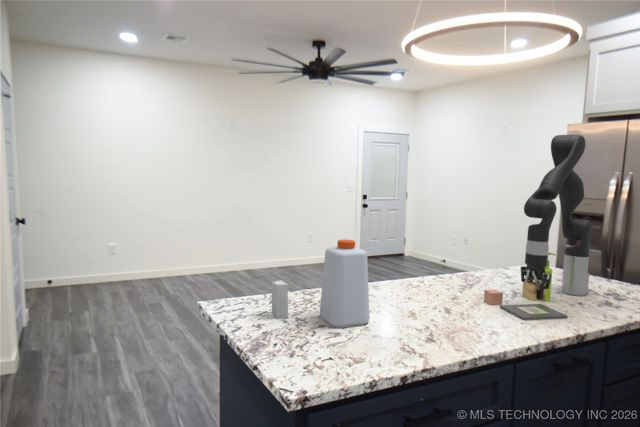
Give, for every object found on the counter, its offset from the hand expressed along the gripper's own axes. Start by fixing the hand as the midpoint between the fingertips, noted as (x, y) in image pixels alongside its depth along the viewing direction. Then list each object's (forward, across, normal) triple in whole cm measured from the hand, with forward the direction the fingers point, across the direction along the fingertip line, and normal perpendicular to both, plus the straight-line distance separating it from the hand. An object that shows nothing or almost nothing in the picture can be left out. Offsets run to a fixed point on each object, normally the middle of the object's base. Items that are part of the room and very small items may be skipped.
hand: (533, 296), depth 155 cm
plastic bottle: (+7, +2, +73) cm, 73 cm away
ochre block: (+1, 0, 0) cm, 1 cm away
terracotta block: (+6, +13, +8) cm, 17 cm away
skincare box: (+7, +9, +95) cm, 96 cm away
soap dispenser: (+6, +15, -17) cm, 24 cm away
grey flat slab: (+6, 0, 0) cm, 6 cm away
